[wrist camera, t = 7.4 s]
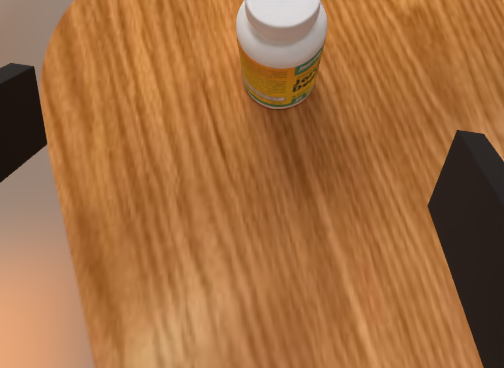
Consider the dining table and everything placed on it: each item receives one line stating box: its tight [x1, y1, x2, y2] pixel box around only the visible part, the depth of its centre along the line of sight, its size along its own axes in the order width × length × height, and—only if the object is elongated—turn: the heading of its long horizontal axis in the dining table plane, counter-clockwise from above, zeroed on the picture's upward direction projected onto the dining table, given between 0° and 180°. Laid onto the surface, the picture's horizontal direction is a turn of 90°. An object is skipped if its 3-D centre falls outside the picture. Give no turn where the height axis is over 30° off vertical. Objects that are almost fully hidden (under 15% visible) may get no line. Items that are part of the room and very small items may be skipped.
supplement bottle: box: [236, 0, 327, 109], centre depth 27 cm, size 5×5×10 cm
